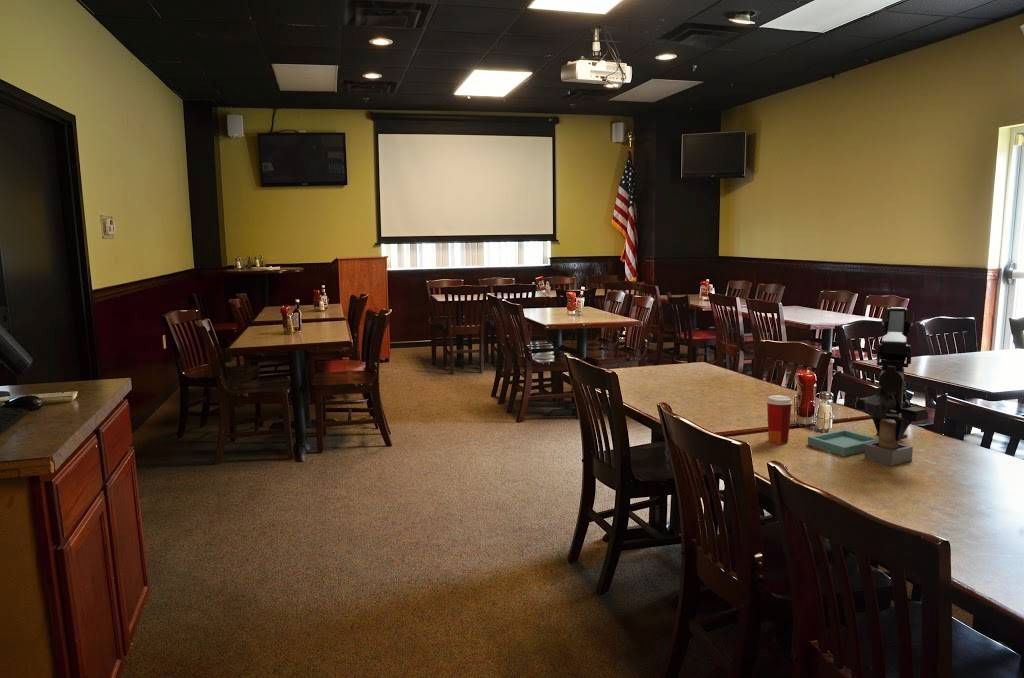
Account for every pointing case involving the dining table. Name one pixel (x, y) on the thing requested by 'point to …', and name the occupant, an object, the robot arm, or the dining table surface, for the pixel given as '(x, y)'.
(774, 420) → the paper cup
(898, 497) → the dining table surface
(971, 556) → the dining table surface
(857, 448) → the tray
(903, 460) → the holder
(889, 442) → the pepper mill
